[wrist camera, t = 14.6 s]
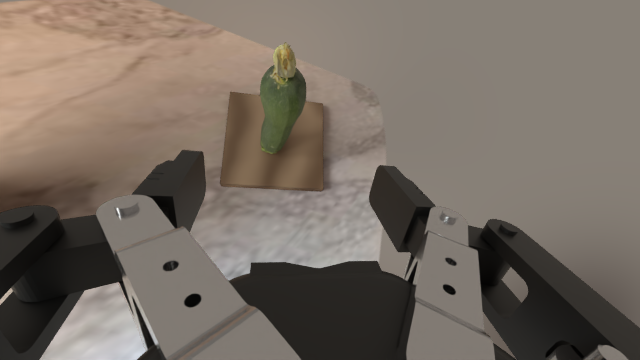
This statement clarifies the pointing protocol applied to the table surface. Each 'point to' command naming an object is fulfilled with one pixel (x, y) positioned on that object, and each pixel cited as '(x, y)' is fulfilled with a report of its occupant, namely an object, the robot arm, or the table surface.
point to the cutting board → (278, 168)
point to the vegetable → (281, 99)
